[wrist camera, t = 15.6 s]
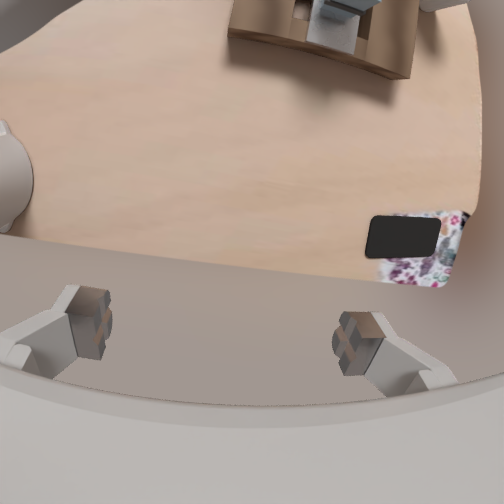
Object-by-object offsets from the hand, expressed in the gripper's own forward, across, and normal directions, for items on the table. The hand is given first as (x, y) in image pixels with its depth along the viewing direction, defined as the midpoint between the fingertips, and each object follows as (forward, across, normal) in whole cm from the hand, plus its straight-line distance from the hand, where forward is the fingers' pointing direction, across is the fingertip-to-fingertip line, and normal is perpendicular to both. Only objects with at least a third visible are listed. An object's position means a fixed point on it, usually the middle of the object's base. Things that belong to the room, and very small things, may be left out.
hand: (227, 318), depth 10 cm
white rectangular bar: (+32, -10, -24) cm, 41 cm away
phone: (+34, -32, +8) cm, 48 cm away
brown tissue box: (+34, -10, -24) cm, 43 cm away
